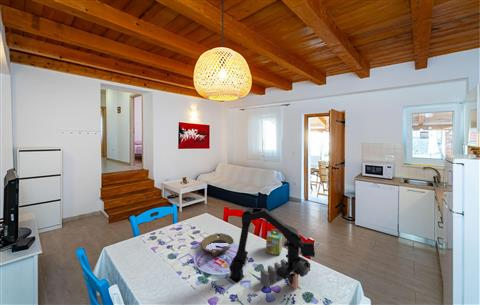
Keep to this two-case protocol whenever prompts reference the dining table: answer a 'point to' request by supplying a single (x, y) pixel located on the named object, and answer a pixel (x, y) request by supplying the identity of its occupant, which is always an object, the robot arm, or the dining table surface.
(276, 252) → the chalk box
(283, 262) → the domino
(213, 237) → the olive oval ring
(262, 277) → the domino
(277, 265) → the domino
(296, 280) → the tan rectangular block
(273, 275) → the domino
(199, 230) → the dining table surface
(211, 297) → the dining table surface
